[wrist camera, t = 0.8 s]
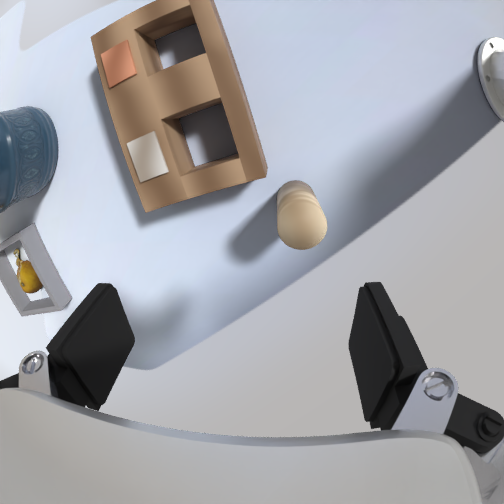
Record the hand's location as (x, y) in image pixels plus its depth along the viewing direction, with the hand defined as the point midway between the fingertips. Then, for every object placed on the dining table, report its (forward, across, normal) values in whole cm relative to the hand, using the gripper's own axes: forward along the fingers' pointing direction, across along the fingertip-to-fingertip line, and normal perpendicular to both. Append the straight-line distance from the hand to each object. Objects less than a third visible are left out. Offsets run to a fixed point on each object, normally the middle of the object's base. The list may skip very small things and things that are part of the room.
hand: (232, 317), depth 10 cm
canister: (+21, +32, -9) cm, 39 cm away
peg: (+21, -4, +2) cm, 21 cm away
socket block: (+21, +7, -10) cm, 24 cm away
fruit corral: (+21, +40, +11) cm, 47 cm away
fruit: (+22, +42, +10) cm, 48 cm away
